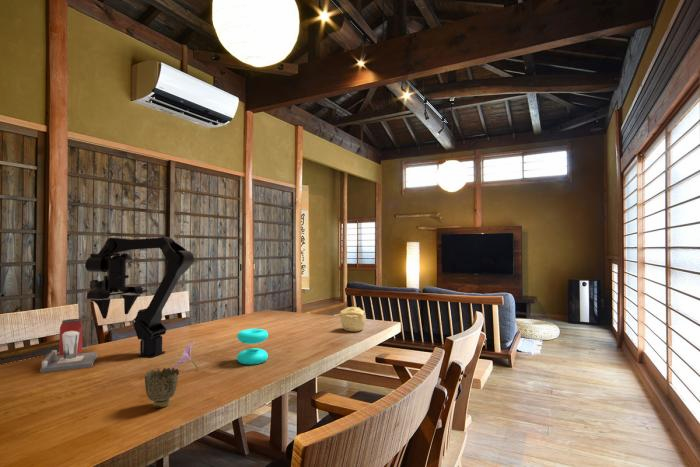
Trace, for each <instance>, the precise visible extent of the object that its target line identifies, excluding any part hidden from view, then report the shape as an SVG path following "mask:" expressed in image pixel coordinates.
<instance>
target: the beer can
mask: <svg viewBox="0 0 700 467" xmlns="http://www.w3.org/2000/svg"><path fill="white" fill-rule="evenodd" d="M83 327H84V326H83V322H82V319H81V318H69V319H64V320H61V324H60V327H59V349H58V351H59V352H58V354H59V355H58V356H61V355H64V354H63V339H62V334H63V333H64V332H68V331H77V332H80V333H79V340H78V347H77V354H81V353H82V352H83V335H84V332H83V330H84V329H83ZM81 328H82V329H81ZM80 330H81V331H80Z"/></svg>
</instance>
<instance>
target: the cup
mask: <svg viewBox="0 0 700 467" xmlns="http://www.w3.org/2000/svg"><path fill="white" fill-rule="evenodd" d="M171 368H172V367H171ZM171 368H170V367H167V368H166V367H163V369H162V370H160V368H158V369H157V371H156V370H153V369H151V370H150V371H147V372H146V374H143V375H144V385H145V393H146V397H147V398H148V399H149V400H150V401H152V406H153V407H154V408H156V409H161V408H165V407H167V406H168V405H169V404H170V403H171V400H170V399H171V398H172V397H173V396H174V394H175V393H176V391H177V386H178V380H179V379H178V378H179V369H178V368H175V367H173V368H172V369H171Z"/></svg>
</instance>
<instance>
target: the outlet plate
mask: <svg viewBox="0 0 700 467" xmlns="http://www.w3.org/2000/svg"><path fill="white" fill-rule="evenodd" d="M97 357H98V351H91V352H83V353H81V354H77V356H76V359H75V360H70V361H64V355H61V356H60V355H58V350H57V349H54V350H53V349H51V351H50V352H49V354H48V355H46V357H45V358H44V359H43V360H41V367H40V370H39V372H40V373H39V374H42V373H50V372H59V371H69V370H76V369H85V368H86V369H87V368H92V367H93V365H94V363H95V361H96V359H97Z"/></svg>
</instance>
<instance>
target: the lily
mask: <svg viewBox="0 0 700 467" xmlns="http://www.w3.org/2000/svg"><path fill="white" fill-rule="evenodd" d="M196 341H197V339H194V341H193V342H192V344H191V341H190V342H188V344H187V346H186V347H185V348H184V350H183V352H182V351H180V352H178V353H177V355H179V356H180V355H181V357H180V359H179V360H178V361H177V362H175V363H174V365H173V366H172V367H171V368H170V369H171V370H172V368H177V367H178V366H179V365H180V364H183V363H186V362H189V361H190V362H192V364H193V365H194V366H195V367H196V369H197V370H198V371H199V367H198V365H197V364H196V363H195V361H194V360H192V358H191V350H192V346H193V345H194V344H195V342H196Z"/></svg>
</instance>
